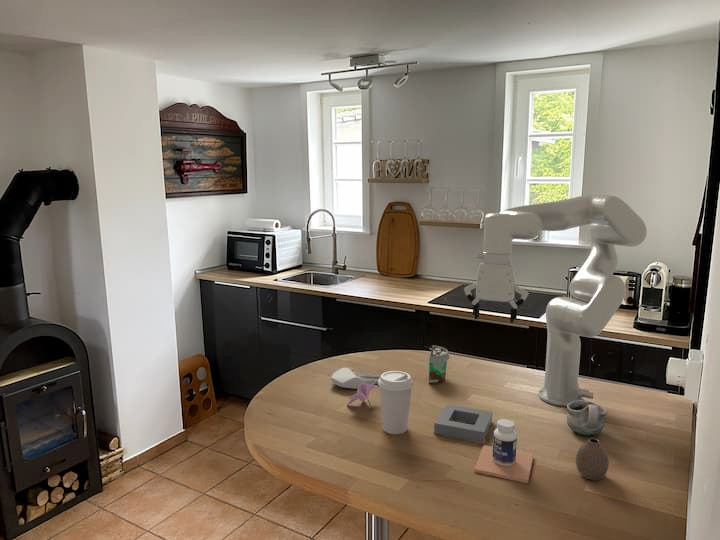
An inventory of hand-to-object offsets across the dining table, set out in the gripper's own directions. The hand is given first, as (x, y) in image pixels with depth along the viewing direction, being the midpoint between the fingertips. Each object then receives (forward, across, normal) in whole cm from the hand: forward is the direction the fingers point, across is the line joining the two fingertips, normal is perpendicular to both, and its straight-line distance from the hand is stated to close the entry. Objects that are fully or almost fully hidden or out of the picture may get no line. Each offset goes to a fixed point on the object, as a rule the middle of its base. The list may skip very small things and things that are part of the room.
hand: (494, 319), depth 151 cm
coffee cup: (+28, -22, -19) cm, 41 cm away
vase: (+28, +27, -23) cm, 45 cm away
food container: (+28, -20, +20) cm, 40 cm away
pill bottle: (+28, +7, -26) cm, 38 cm away
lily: (+28, -35, -9) cm, 46 cm away
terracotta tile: (+28, +8, -26) cm, 39 cm away
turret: (+29, -43, +7) cm, 52 cm away
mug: (+28, +26, -2) cm, 39 cm away
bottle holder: (+28, -5, -11) cm, 31 cm away
